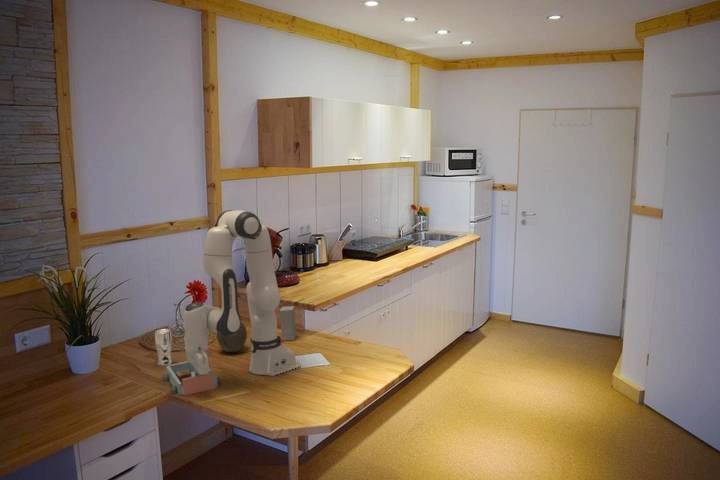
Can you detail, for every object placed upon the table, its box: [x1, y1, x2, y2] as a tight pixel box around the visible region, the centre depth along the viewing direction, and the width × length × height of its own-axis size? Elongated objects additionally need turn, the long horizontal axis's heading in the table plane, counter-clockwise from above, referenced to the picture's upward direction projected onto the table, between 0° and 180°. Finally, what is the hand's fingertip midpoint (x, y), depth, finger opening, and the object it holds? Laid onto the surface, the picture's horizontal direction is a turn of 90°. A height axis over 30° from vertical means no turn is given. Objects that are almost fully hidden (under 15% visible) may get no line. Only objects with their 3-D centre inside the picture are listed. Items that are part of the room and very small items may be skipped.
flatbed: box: [161, 360, 222, 396], centre depth 233 cm, size 19×22×6 cm
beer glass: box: [154, 328, 173, 367], centre depth 256 cm, size 7×7×15 cm
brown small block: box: [176, 370, 192, 386], centre depth 231 cm, size 5×5×4 cm
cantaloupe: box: [216, 321, 248, 353], centre depth 270 cm, size 14×14×15 cm
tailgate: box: [182, 372, 216, 396], centre depth 223 cm, size 12×1×8 cm, turn 121°
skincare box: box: [279, 305, 297, 341], centre depth 288 cm, size 8×7×16 cm
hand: (198, 377), depth 226 cm, fingers closed
